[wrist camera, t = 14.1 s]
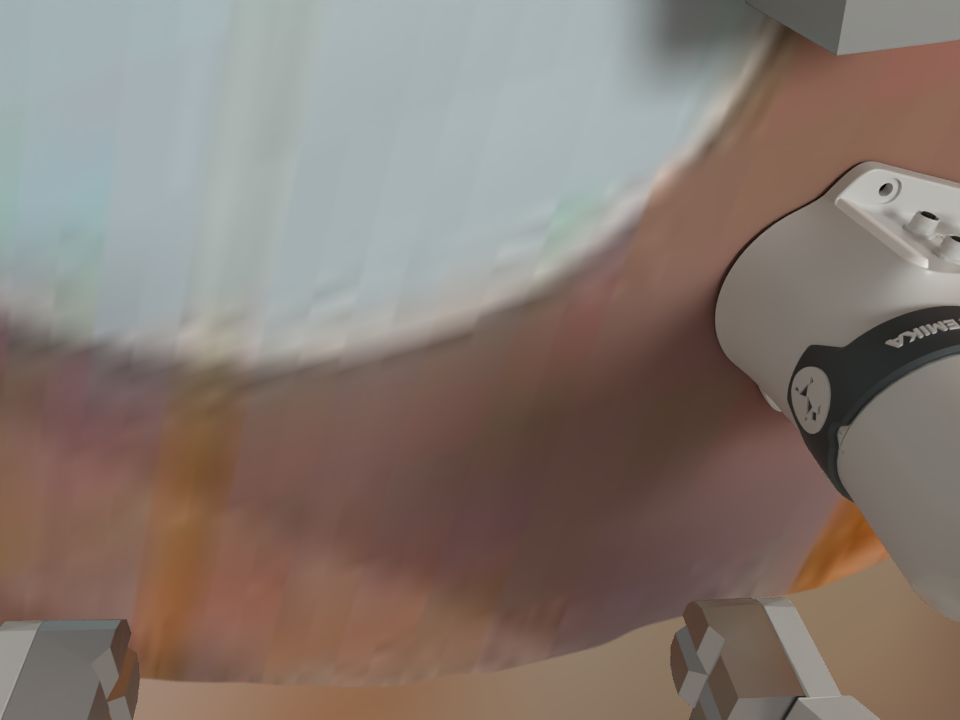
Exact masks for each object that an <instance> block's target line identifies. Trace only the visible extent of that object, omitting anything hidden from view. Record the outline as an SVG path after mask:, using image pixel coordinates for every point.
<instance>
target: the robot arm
mask: <svg viewBox="0 0 960 720" xmlns="http://www.w3.org/2000/svg"><path fill="white" fill-rule="evenodd" d="M886 183H887V184H886ZM884 184H886V186H885V188H884V189H883V190H881V191H879V189H880V187H881V186H882V185H884ZM715 327H716V333H717V337H718V341H719V343H720V346H721V348H722V349H723V351H724V353H725V354H726V356H727V357H728V358H729V359H730V360H731V361H732V362H733V363H734V364H735V365H736V366H737V367H738V368H740V369H741V370H742V371H743V372H745V373H746V374H747V375H748V376H749V377H750V378H751V379H752V380H753V381H754V382H755V383H756V384H757V385H758V386H759V389H760V391H761V393H762V395H763V397H764V398H765V400H766V401H767V402H768V403H769V405H770V406H771V407H772V408H773V409H774V410H776V411H780V412H783V413H784V414H785V416H786V417H787V418H788V419H789V420H790V421H791V422H792V424H793V425H794V426H795V427H796V428H797V429H798V431H799V432H800V433H801V435H802V437H803V439H804V442H805V444H806V446H807V447H808V449H809V451H810V452H811V453H812V455H813V456H814V458H815V459H816V461H817V462H818V464H819V465H820V467H821V468H822V470H823V471H824V474H825V476H826V477H827V479H828V480H829V481H830V482H831V483H832V484H833V485H834V486H835V488H836V489H837V490H838V491H839V492H840V493H841V494H842V495H843V496H844V497H845V498H847V499H848V500H850V501H852V502H854V503H855V504H856V506H857V507H858V509H859V510H860V512H861V513H862V515H863V516H864V518H865V519H866V521H867V522H868V524H869V525H870V527H871V528H872V530H873V531H874V533H875V534H876V536H877V537H878V538H879V540H880V541H881V543H882V544H883V546H884V547H885V549H886V550H887V552H888V553H889V555H890V556H891V558H892V559H893V561H894V562H895V564H896V565H897V567H898V568H899V570H900V571H901V573H902V574H903V576H904V577H905V579H906V580H907V582H908V583H909V585H910V586H911V588H912V590H913V591H914V592H915V593H916V595H917V596H918V597H919V598H920V599H921V600H922V601H923V602H924V603H925V604H927V605H928V606H929V607H930V608H932V609H934V610H935V611H936V612H938V613H940V614H941V615H943V616H945V617H947V618H949V619H952V620H954V621H957V622H960V183H956V182H952V181H948V180H944V179H940V178H937V177H933V176H929V175H925V174H921V173H917V172H913V171H910V170H906V169H902V168H898V167H894V166H890V165H886V164H882V163H879V162H873V161H870V162H864V163H861V164H859V165H857V166H856V167H854V168H853V169H852V170H850V171H849V172H848V173H847V174H845V175H844V176H843V177H842V178H841V179H840V180H839V181H838V182H837V183H836V184H835V185H834V186H833V187H832V188H831V189H830V190H829V191H828V192H827V193H826V194H825V195H824V196H822V197H821V198H819V199H818V200H816V201H815V202H813V203H811V204H809V205H807V206H806V207H804V208H802V209H800V210H798V211H796V212H794V213H792V214H790V215H788V216H787V217H785V218H783V219H782V220H780V221H778V222H777V223H775V224H774V225H773V226H771V227H770V228H769V229H767V230H766V231H765V232H764V233H762V234H761V235H760V236H759V237H758V238H757V239H756V240H755V241H753V242H752V243H751V245H750V246H749V247H748V248H747V249H746V250H745V251H744V252H743V253H742V255H741V256H740V257H739V258H738V260H737V261H736V262H735V264H734V265H733V267H732V268H731V270H730V272H729V274H728V275H727V277H726V279H725V281H724V283H723V286H722V288H721V291H720V294H719V297H718V301H717V305H716V312H715ZM683 617H684V620H685V623H686V626H685V627H683V628H682V629H680V630H679V631H678V632H676V633H675V636H674V639H673V641H672V644H671V656H670V663H671V664H670V665H671V670H672V676H673V680H674V683H675V687H676V690H677V693H678V695H679V696H680V697H681V698H682V699H683V700H684V701H686V703H688V705H690V706H691V707H692V708H693V709H692V712H691V715H690V718H689V720H880V719H879V718H878V717H877V716H876V715H874V714H873V713H872V712H870V711H869V710H868V709H867V708H866V707H864V706H863V705H862V704H861V703H860V702H858V701H857V700H856V699H855V698H853V697H852V696H851V695H841V694H840V692H839V690H838V688H837V686H836V684H835V682H834V680H833V679H832V677H831V675H830V673H829V671H828V669H827V667H826V665H825V663H824V661H823V659H822V658H821V656H820V654H819V652H818V650H817V648H816V646H815V644H814V642H813V641H812V639H811V637H810V635H809V633H808V631H807V629H806V627H805V625H804V623H803V622H802V620H801V618H800V616H799V614H798V612H797V610H796V608H795V606H794V605H793V603H791V602H790V601H789V600H788V599H787V598H781V597H779V598H760V599H752V598H736V599H716V600H695V601H692V602H690V603H689V604H687V606H686V609H685V611H684V613H683ZM130 636H131V631H130V628H129V625H128V622H127V619H108V620H49V621H48V620H35V621H5V622H4V623H3V624H2V626H1V627H0V720H133V717H134V712H135V708H136V704H137V698H138V690H139V681H140V674H139V662H138V658H137V654H136V652H134V651H132V650H131V649H129V648H128V643H129V640H130Z"/></svg>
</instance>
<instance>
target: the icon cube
mask: <svg viewBox="0 0 960 720" xmlns="http://www.w3.org/2000/svg"><path fill="white" fill-rule="evenodd" d="M746 3H747V4H749V5H751V6H752V7H754V8H756V9H757V10H759V11H761V12H763V13H764V14H766V15H768V16H770V17H771V18H773V19H775V20H776V21H778V22H780V23H782V24H783V25H785V26H787V27H788V28H790V29H792V30H794V31H795V32H797V33H799V34H801V35H802V36H804V37H806V38H807V39H809V40H811V41H813V42H814V43H816V44H818V45H820V46H821V47H823V48H825V49H826V50H828V51H830V52H832V53H833V54H835V55H844V54H852V53H860V52H868V51H876V50H883V49H891V48H899V47H907V46H914V45H922V44H930V43H938V42H946V41H953V40H960V0H746Z"/></svg>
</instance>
